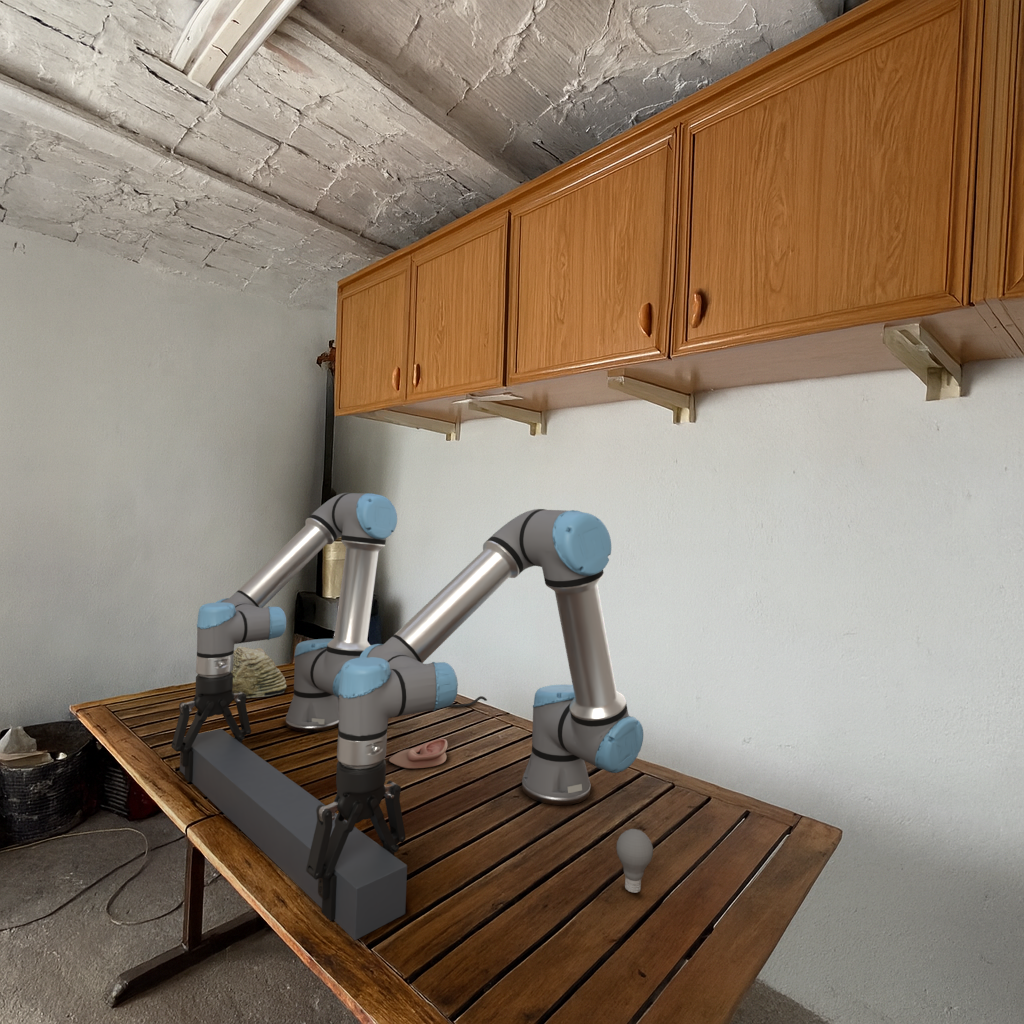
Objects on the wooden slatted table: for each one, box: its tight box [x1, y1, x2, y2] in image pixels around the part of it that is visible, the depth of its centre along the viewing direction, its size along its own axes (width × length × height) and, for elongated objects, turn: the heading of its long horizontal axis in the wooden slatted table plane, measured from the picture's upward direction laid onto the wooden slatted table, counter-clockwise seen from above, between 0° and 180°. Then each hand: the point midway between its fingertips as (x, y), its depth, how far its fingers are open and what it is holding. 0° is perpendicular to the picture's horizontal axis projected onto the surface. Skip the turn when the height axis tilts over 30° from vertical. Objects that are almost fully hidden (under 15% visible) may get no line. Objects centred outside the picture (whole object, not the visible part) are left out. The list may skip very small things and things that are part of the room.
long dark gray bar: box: [179, 728, 408, 941], centre depth 120 cm, size 74×9×8 cm, turn 45°
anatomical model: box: [388, 738, 449, 769], centre depth 154 cm, size 13×4×12 cm
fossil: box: [231, 646, 288, 699], centre depth 198 cm, size 9×18×15 cm, turn 132°
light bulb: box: [615, 828, 654, 894], centre depth 106 cm, size 6×6×10 cm
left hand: (211, 773), depth 141 cm, fingers closed on long dark gray bar, 9 cm apart
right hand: (356, 902), depth 99 cm, fingers closed on long dark gray bar, 9 cm apart
